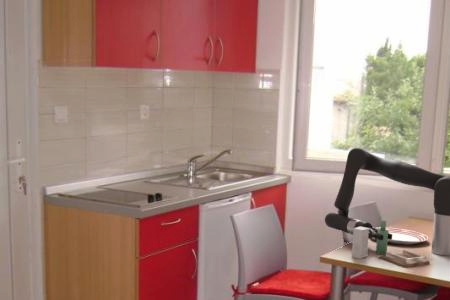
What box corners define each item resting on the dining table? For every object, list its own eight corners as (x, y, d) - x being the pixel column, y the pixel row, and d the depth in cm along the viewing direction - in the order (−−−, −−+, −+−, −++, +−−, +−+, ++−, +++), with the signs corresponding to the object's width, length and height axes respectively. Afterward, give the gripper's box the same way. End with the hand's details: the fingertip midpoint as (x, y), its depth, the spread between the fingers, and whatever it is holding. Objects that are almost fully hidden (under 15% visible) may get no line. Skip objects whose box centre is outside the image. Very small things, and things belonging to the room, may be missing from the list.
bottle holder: (403, 255, 252) (404, 248, 252) (429, 264, 240) (430, 256, 240) (378, 258, 246) (379, 251, 245) (404, 267, 233) (404, 259, 233)
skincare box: (358, 254, 251) (359, 226, 250) (367, 256, 248) (369, 227, 247) (351, 256, 246) (353, 228, 245) (360, 258, 243) (362, 230, 242)
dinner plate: (420, 235, 294) (421, 228, 294) (434, 249, 267) (435, 241, 266) (363, 232, 296) (364, 225, 296) (372, 245, 269) (372, 237, 269)
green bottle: (381, 251, 257) (383, 219, 256) (388, 254, 253) (391, 221, 252) (373, 252, 255) (376, 220, 254) (381, 255, 251) (383, 222, 250)
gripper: (347, 221, 262) (375, 229, 247) (372, 219, 269) (400, 227, 254) (346, 238, 263) (373, 247, 248) (371, 235, 270) (399, 244, 255)
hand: (387, 237), depth 251 cm, fingers closed on green bottle, 4 cm apart
